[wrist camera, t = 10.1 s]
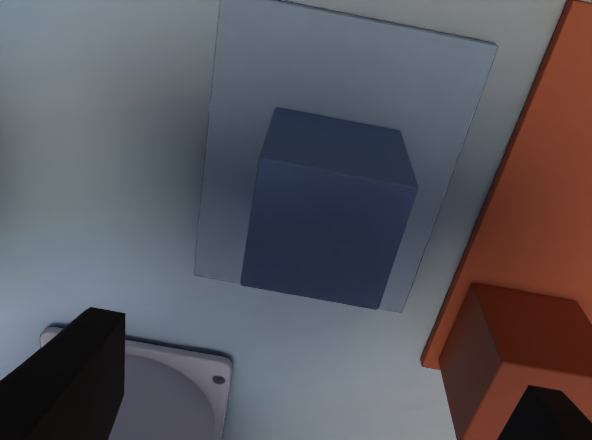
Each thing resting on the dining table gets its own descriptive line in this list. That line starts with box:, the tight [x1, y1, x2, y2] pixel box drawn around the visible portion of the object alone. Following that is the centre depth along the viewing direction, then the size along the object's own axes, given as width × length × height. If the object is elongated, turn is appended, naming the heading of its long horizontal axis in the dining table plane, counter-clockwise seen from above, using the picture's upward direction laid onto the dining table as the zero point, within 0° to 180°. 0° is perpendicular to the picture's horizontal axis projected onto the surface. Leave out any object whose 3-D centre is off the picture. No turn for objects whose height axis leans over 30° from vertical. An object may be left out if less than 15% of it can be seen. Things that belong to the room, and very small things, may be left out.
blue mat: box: [194, 0, 498, 313], centre depth 17 cm, size 10×8×1 cm
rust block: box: [438, 283, 592, 440], centre depth 18 cm, size 4×4×4 cm
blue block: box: [240, 107, 418, 310], centre depth 15 cm, size 4×4×4 cm
